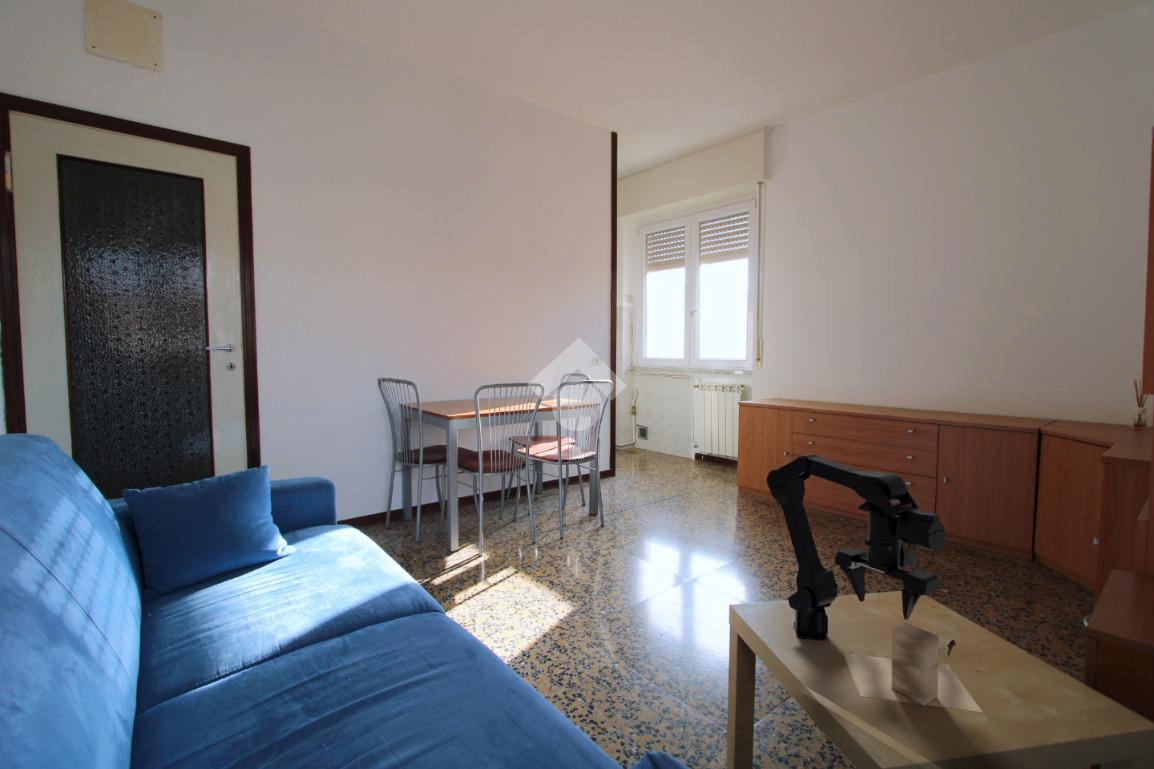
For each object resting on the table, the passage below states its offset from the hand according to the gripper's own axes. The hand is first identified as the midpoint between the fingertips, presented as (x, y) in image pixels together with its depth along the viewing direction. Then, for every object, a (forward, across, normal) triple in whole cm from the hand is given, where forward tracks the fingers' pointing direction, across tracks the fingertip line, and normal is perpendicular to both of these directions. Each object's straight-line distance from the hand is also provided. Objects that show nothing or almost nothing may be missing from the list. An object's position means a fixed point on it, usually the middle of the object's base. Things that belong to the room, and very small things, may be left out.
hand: (883, 609), depth 110 cm
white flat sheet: (+13, -5, +1) cm, 14 cm away
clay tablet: (+14, +1, -18) cm, 22 cm away
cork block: (+12, -8, +4) cm, 15 cm away
